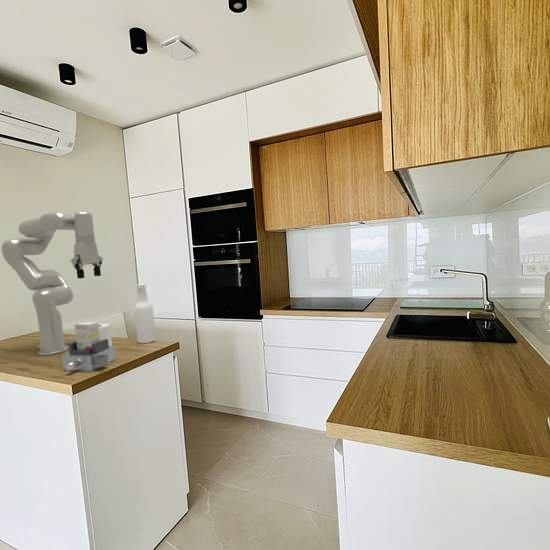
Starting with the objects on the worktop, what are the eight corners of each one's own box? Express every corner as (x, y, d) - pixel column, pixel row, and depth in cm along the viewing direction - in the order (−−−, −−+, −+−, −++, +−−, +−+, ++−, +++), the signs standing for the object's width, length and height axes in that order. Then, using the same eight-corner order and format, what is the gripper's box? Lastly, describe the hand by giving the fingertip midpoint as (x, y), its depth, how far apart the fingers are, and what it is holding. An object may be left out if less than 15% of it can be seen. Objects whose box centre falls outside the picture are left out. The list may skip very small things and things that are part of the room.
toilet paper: (115, 349, 158) (112, 325, 157) (91, 355, 151) (88, 329, 150) (109, 345, 166) (106, 322, 165) (86, 351, 159) (83, 326, 158)
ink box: (101, 349, 139) (98, 322, 138) (91, 353, 134) (88, 324, 133) (87, 348, 142) (84, 321, 141) (77, 351, 138) (73, 324, 137)
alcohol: (144, 344, 163) (138, 285, 161) (134, 342, 168) (128, 285, 166) (159, 339, 171) (153, 283, 168) (148, 338, 176) (143, 283, 173)
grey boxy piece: (53, 374, 129) (50, 349, 128) (90, 358, 147) (87, 336, 146) (91, 375, 125) (88, 350, 124) (123, 359, 143) (121, 336, 142)
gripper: (93, 240, 158) (97, 275, 159) (62, 240, 141) (66, 279, 142) (106, 239, 156) (110, 274, 157) (76, 239, 139) (81, 278, 141)
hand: (89, 277), depth 150 cm, fingers open, 9 cm apart
